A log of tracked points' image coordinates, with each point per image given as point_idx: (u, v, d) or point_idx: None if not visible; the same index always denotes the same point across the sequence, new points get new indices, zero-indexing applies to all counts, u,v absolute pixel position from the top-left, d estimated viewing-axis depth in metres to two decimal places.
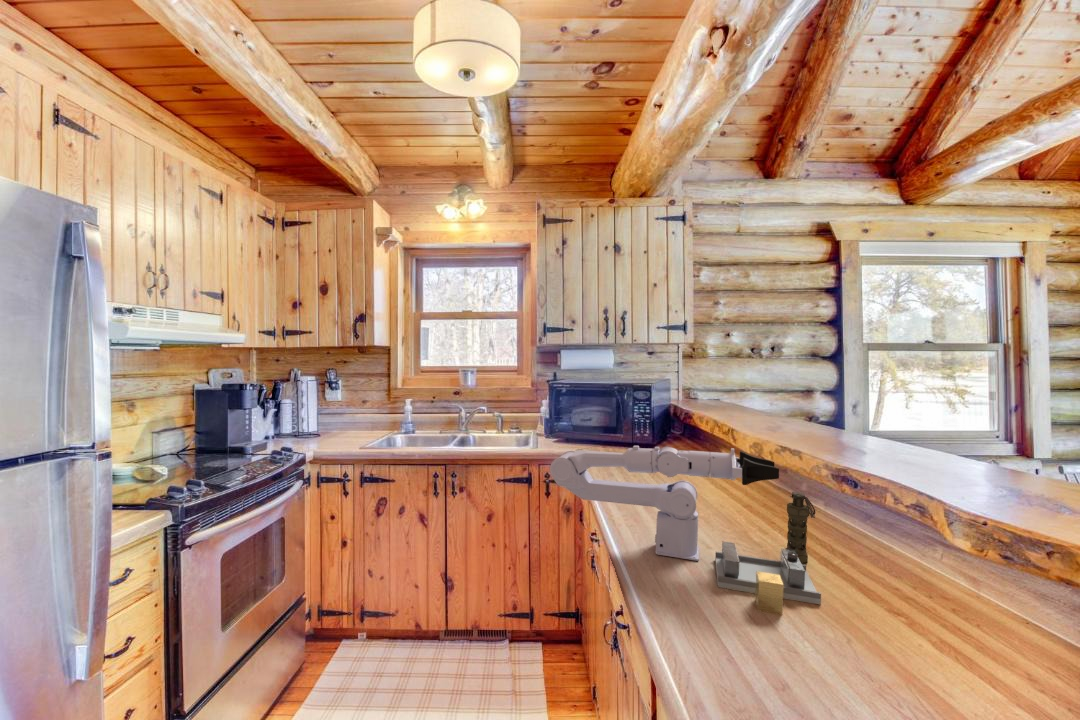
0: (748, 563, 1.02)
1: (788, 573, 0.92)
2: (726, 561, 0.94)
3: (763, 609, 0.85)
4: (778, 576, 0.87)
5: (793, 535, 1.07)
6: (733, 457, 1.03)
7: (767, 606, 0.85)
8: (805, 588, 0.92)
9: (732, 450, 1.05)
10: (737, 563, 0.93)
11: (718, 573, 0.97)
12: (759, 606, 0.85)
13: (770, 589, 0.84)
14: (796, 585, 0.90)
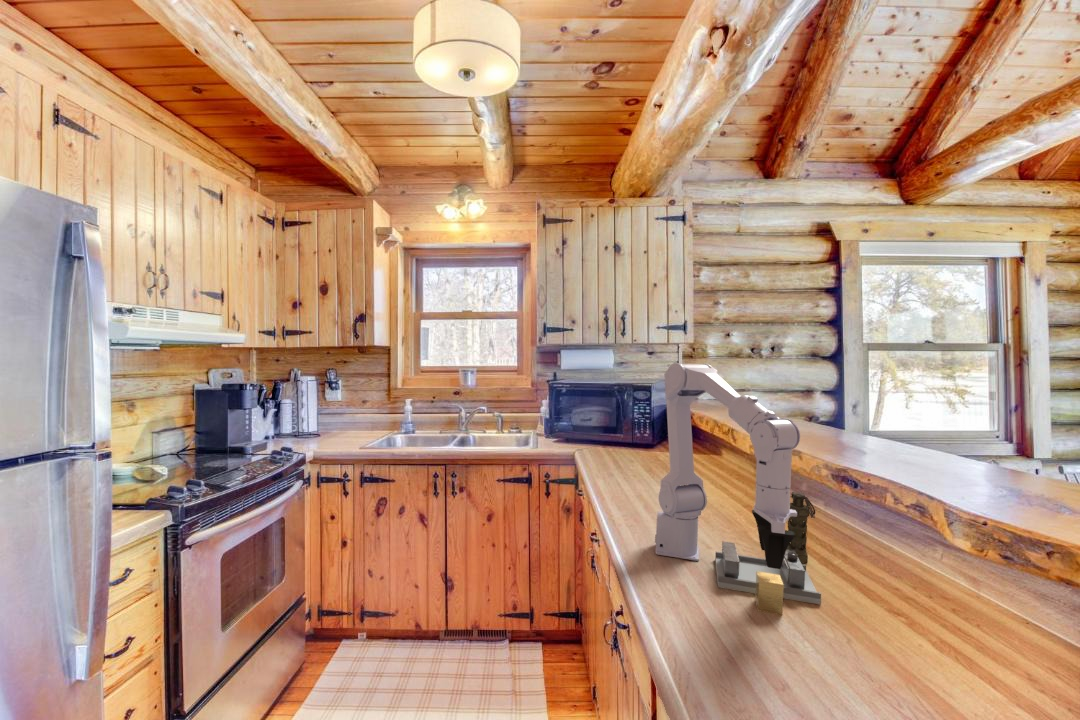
0: (748, 563, 1.02)
1: (788, 573, 0.92)
2: (726, 561, 0.94)
3: (763, 609, 0.85)
4: (778, 576, 0.87)
5: None
6: (789, 516, 0.83)
7: (767, 606, 0.85)
8: (805, 588, 0.92)
9: (795, 514, 0.84)
10: (737, 563, 0.93)
11: (718, 573, 0.97)
12: (759, 606, 0.85)
13: (770, 589, 0.84)
14: (796, 585, 0.90)
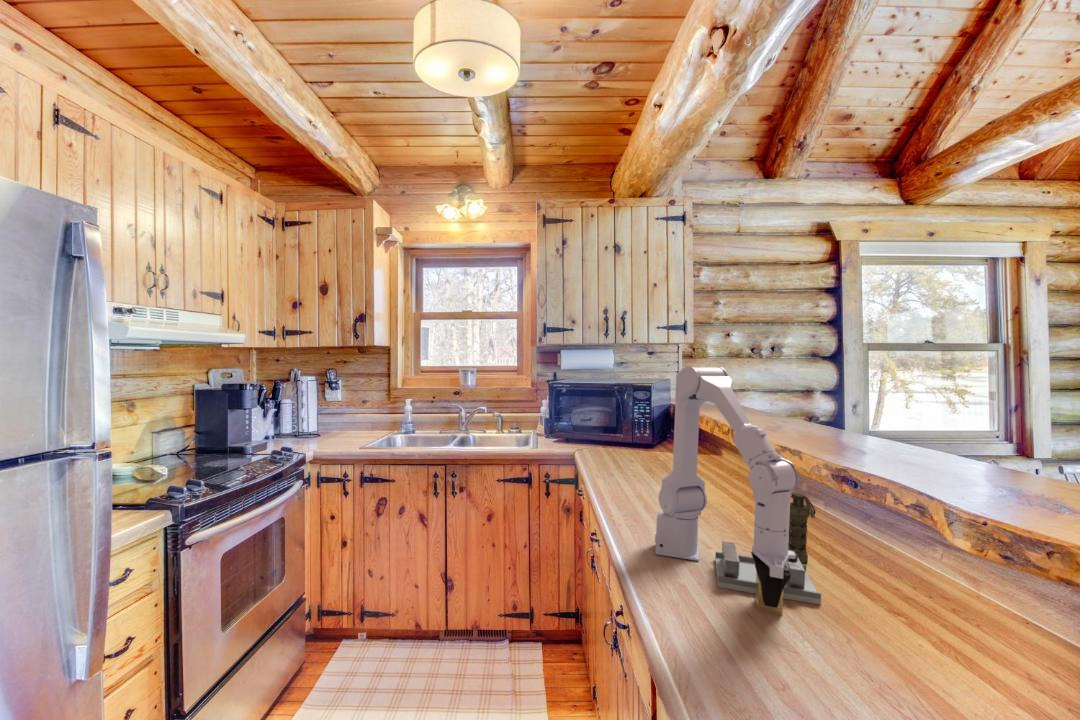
0: (748, 563, 1.02)
1: None
2: (726, 561, 0.94)
3: (763, 609, 0.85)
4: None
5: (793, 535, 1.07)
6: (787, 559, 0.83)
7: (767, 606, 0.85)
8: (805, 588, 0.92)
9: (794, 556, 0.84)
10: (737, 563, 0.93)
11: (718, 573, 0.97)
12: (759, 606, 0.85)
13: None
14: (796, 585, 0.90)
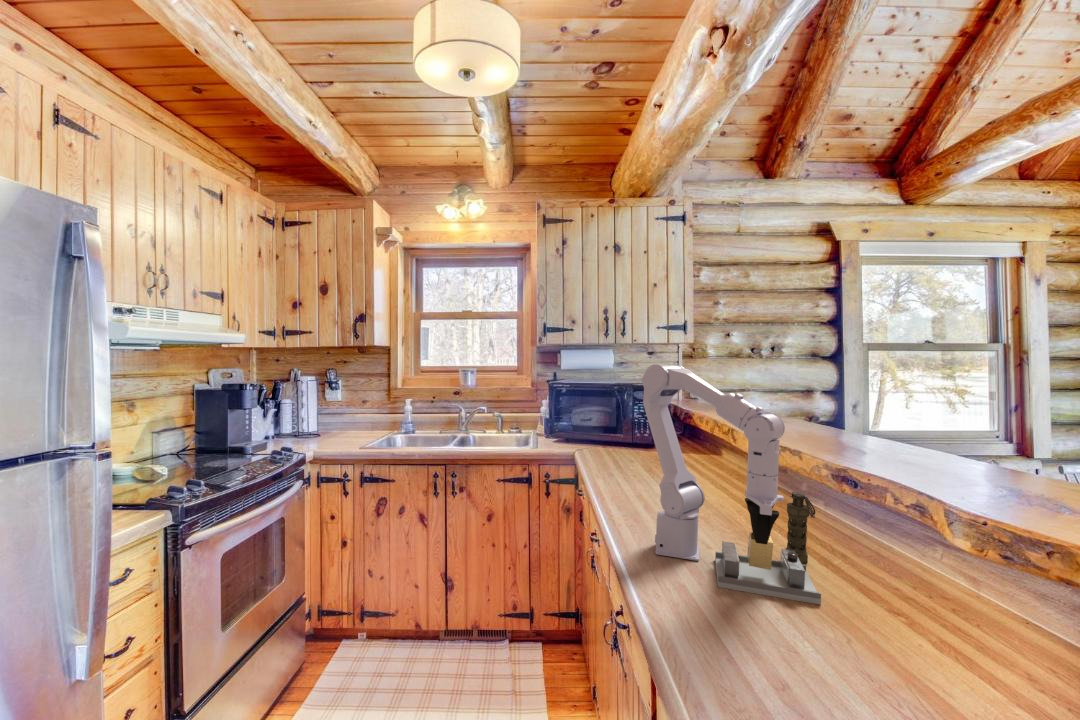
0: (748, 563, 1.02)
1: (788, 573, 0.92)
2: (726, 561, 0.94)
3: (754, 564, 0.94)
4: None
5: (793, 535, 1.07)
6: (776, 501, 0.93)
7: (757, 562, 0.94)
8: (805, 588, 0.92)
9: (782, 499, 0.94)
10: (737, 563, 0.93)
11: (718, 573, 0.97)
12: (750, 561, 0.95)
13: (761, 547, 0.94)
14: (796, 585, 0.90)
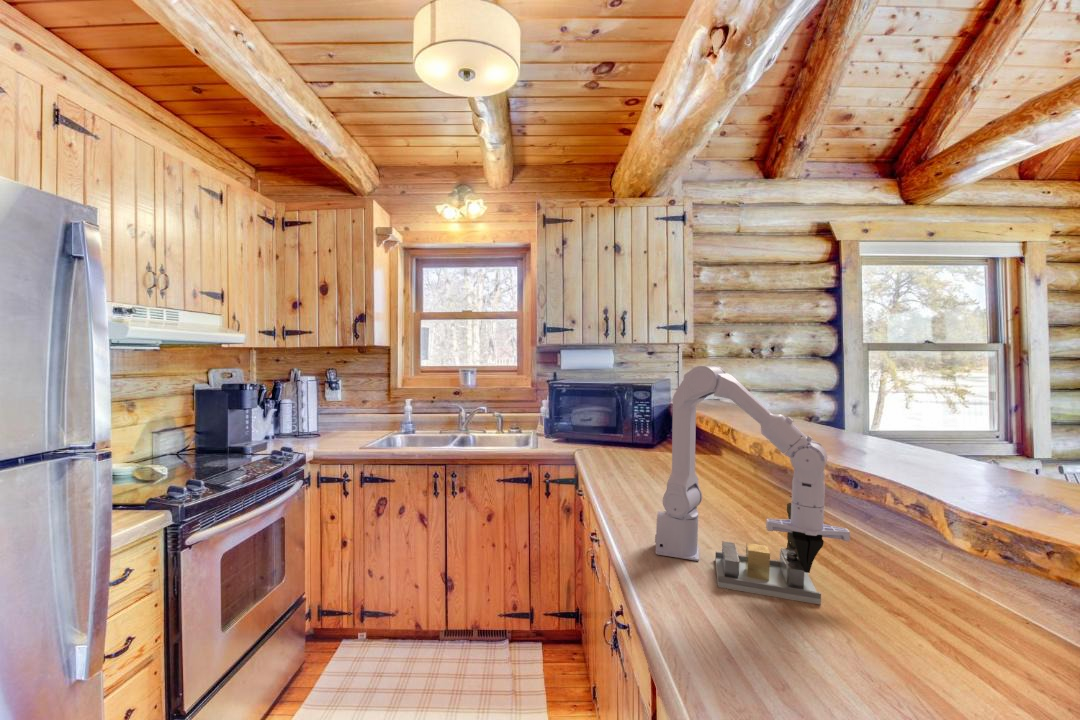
0: None
1: (787, 573, 0.92)
2: (726, 561, 0.94)
3: (752, 575, 0.95)
4: (766, 547, 0.97)
5: None
6: (796, 529, 0.92)
7: (755, 573, 0.95)
8: (805, 588, 0.92)
9: (805, 532, 0.91)
10: (737, 563, 0.93)
11: (718, 573, 0.97)
12: (748, 573, 0.96)
13: (758, 558, 0.95)
14: (795, 585, 0.90)
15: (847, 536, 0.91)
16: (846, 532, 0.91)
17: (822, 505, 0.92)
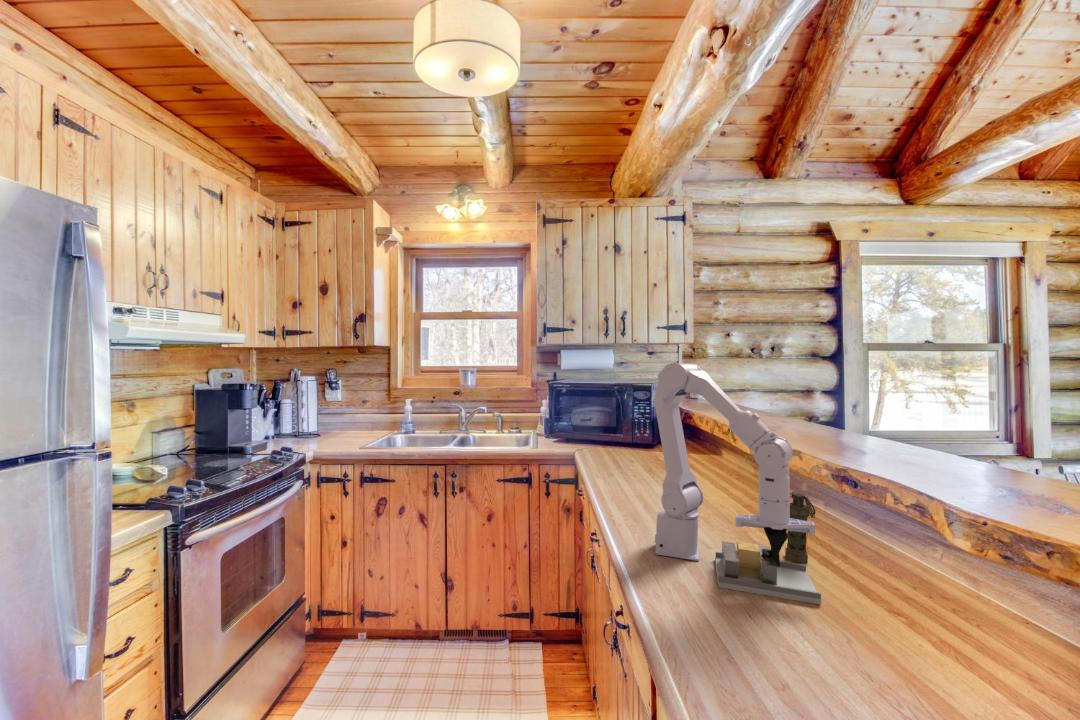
0: None
1: (761, 569, 0.93)
2: (726, 561, 0.94)
3: (742, 574, 0.96)
4: (756, 545, 0.98)
5: (793, 535, 1.07)
6: (763, 524, 0.94)
7: (746, 571, 0.96)
8: (805, 588, 0.92)
9: (771, 526, 0.93)
10: (737, 563, 0.93)
11: (718, 573, 0.97)
12: (739, 571, 0.96)
13: (748, 556, 0.96)
14: (769, 581, 0.92)
15: (812, 529, 0.93)
16: (811, 525, 0.93)
17: (786, 500, 0.93)
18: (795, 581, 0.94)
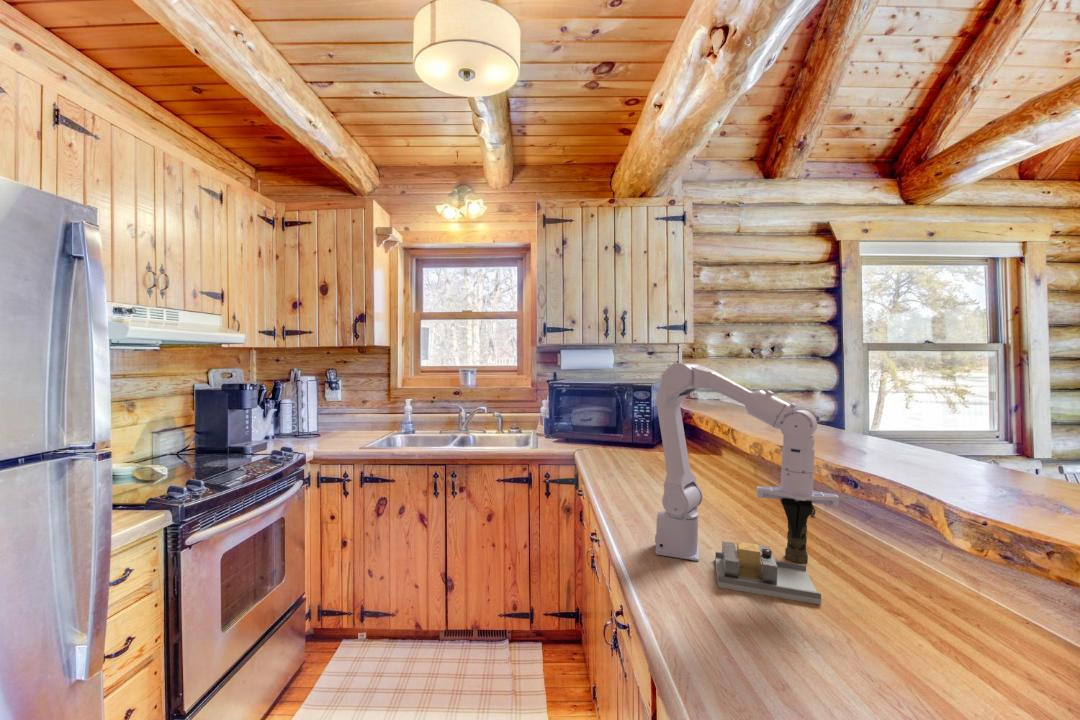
0: None
1: (761, 569, 0.93)
2: (726, 561, 0.94)
3: (742, 574, 0.96)
4: (756, 545, 0.98)
5: None
6: (785, 495, 0.93)
7: (746, 571, 0.96)
8: (805, 588, 0.92)
9: (794, 497, 0.91)
10: (737, 563, 0.93)
11: (718, 573, 0.97)
12: (739, 571, 0.96)
13: (749, 556, 0.96)
14: (769, 581, 0.92)
15: (836, 501, 0.91)
16: (835, 497, 0.92)
17: (811, 471, 0.92)
18: (795, 581, 0.94)
